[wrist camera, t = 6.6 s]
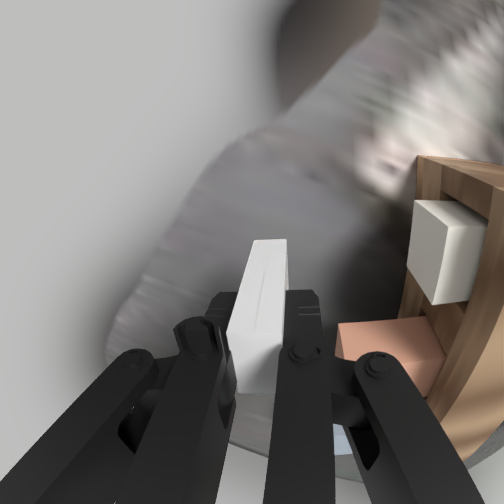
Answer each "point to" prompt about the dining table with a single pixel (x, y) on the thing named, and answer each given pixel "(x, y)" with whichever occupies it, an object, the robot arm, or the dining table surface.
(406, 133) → the dining table surface
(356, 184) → the dining table surface
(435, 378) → the salmon pink block
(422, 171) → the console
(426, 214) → the cream button
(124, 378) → the robot arm
